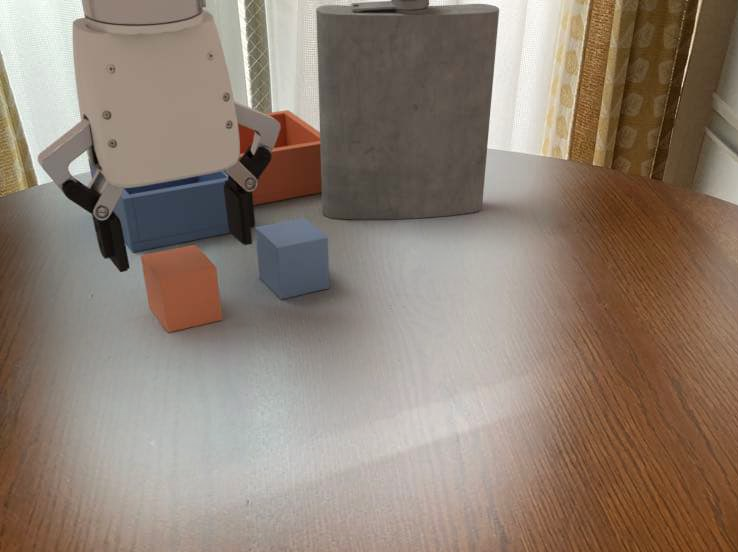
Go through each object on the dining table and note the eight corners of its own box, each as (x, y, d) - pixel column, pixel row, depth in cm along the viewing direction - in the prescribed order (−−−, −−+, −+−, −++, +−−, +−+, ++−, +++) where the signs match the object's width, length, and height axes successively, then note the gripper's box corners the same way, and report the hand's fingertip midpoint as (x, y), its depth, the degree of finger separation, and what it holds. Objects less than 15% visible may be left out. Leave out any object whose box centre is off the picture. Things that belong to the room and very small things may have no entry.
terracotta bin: (237, 208, 90) (232, 158, 86) (198, 171, 96) (192, 123, 93) (334, 190, 94) (333, 141, 90) (290, 156, 100) (288, 109, 97)
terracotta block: (168, 333, 71) (159, 279, 68) (149, 308, 74) (140, 255, 71) (222, 320, 73) (216, 266, 70) (202, 296, 76) (195, 244, 73)
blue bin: (132, 252, 82) (123, 199, 78) (97, 209, 88) (87, 158, 85) (243, 230, 86) (239, 178, 83) (202, 190, 93) (196, 141, 89)
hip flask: (477, 199, 93) (496, -30, 80) (487, 215, 90) (509, -20, 77) (320, 206, 90) (313, -29, 77) (325, 223, 88) (318, -19, 74)
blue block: (280, 299, 76) (277, 248, 73) (259, 277, 79) (254, 226, 76) (329, 288, 78) (328, 237, 75) (306, 267, 81) (304, 216, 78)
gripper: (245, -28, 64) (266, 212, 76) (-12, -4, 58) (54, 255, 69) (290, -7, 60) (305, 246, 71) (16, 23, 53) (81, 297, 64)
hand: (181, 251), depth 70 cm, fingers open, 9 cm apart
